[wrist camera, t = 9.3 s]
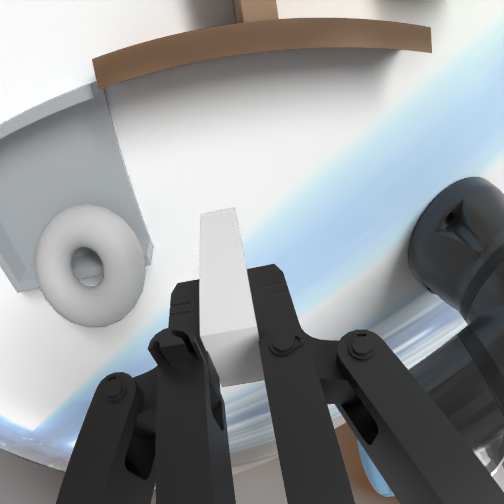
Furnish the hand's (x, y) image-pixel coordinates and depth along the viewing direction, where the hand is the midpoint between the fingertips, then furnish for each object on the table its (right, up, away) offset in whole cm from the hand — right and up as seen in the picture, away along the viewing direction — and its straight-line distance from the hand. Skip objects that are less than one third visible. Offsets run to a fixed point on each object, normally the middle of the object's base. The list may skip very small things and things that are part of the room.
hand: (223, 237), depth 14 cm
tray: (-16, +4, +8) cm, 18 cm away
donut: (-10, +3, +8) cm, 13 cm away
